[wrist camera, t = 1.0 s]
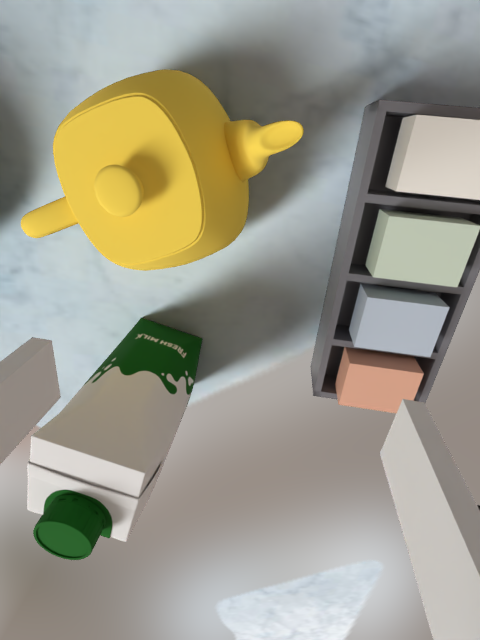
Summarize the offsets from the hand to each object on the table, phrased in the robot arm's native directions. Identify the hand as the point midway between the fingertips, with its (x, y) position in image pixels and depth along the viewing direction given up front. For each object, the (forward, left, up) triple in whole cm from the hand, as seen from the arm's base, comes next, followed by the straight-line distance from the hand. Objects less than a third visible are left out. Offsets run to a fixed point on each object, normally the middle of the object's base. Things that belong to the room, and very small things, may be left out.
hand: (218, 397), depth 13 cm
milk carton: (+13, -9, -22) cm, 28 cm away
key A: (-9, +12, -18) cm, 23 cm away
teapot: (-6, -7, -22) cm, 24 cm away
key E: (+9, +12, -18) cm, 24 cm away
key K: (+3, +12, -18) cm, 22 cm away
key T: (-3, +12, -18) cm, 22 cm away
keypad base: (0, +12, -22) cm, 25 cm away
